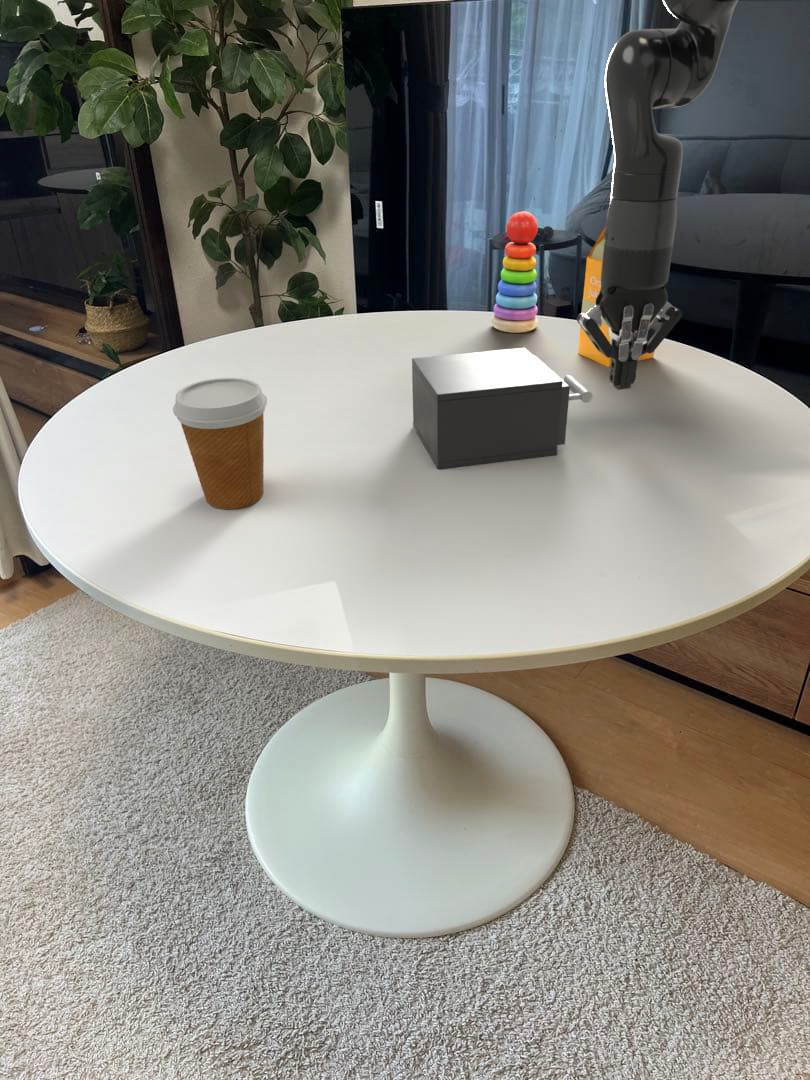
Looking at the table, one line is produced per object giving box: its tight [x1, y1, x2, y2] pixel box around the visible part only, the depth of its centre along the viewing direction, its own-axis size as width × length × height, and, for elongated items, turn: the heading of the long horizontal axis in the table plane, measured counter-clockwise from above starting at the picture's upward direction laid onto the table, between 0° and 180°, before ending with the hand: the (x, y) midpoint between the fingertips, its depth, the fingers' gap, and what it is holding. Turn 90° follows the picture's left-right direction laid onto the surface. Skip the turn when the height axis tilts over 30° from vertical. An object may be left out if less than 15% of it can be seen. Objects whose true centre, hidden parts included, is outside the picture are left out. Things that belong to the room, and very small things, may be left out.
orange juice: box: [577, 225, 656, 368], centre depth 118 cm, size 8×9×20 cm
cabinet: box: [411, 347, 563, 470], centre depth 95 cm, size 15×13×9 cm
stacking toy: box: [491, 211, 539, 334], centre depth 132 cm, size 8×8×19 cm
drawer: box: [533, 354, 593, 446], centre depth 96 cm, size 18×11×7 cm, turn 102°
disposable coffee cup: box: [172, 377, 268, 510], centre depth 83 cm, size 10×10×12 cm
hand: (621, 387), depth 97 cm, fingers closed
